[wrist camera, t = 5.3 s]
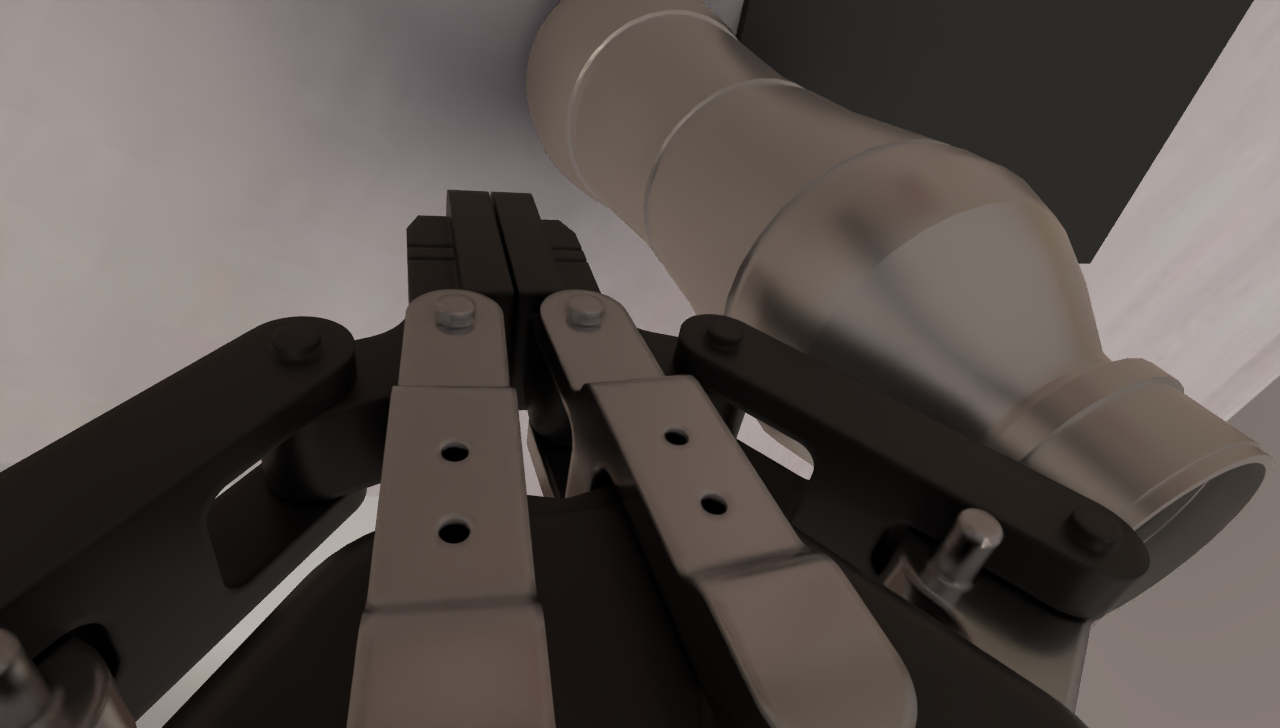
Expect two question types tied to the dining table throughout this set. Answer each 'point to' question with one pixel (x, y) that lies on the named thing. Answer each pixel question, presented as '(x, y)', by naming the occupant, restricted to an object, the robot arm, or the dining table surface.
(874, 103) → the rubber mat
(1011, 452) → the plastic bottle
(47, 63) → the dining table surface
